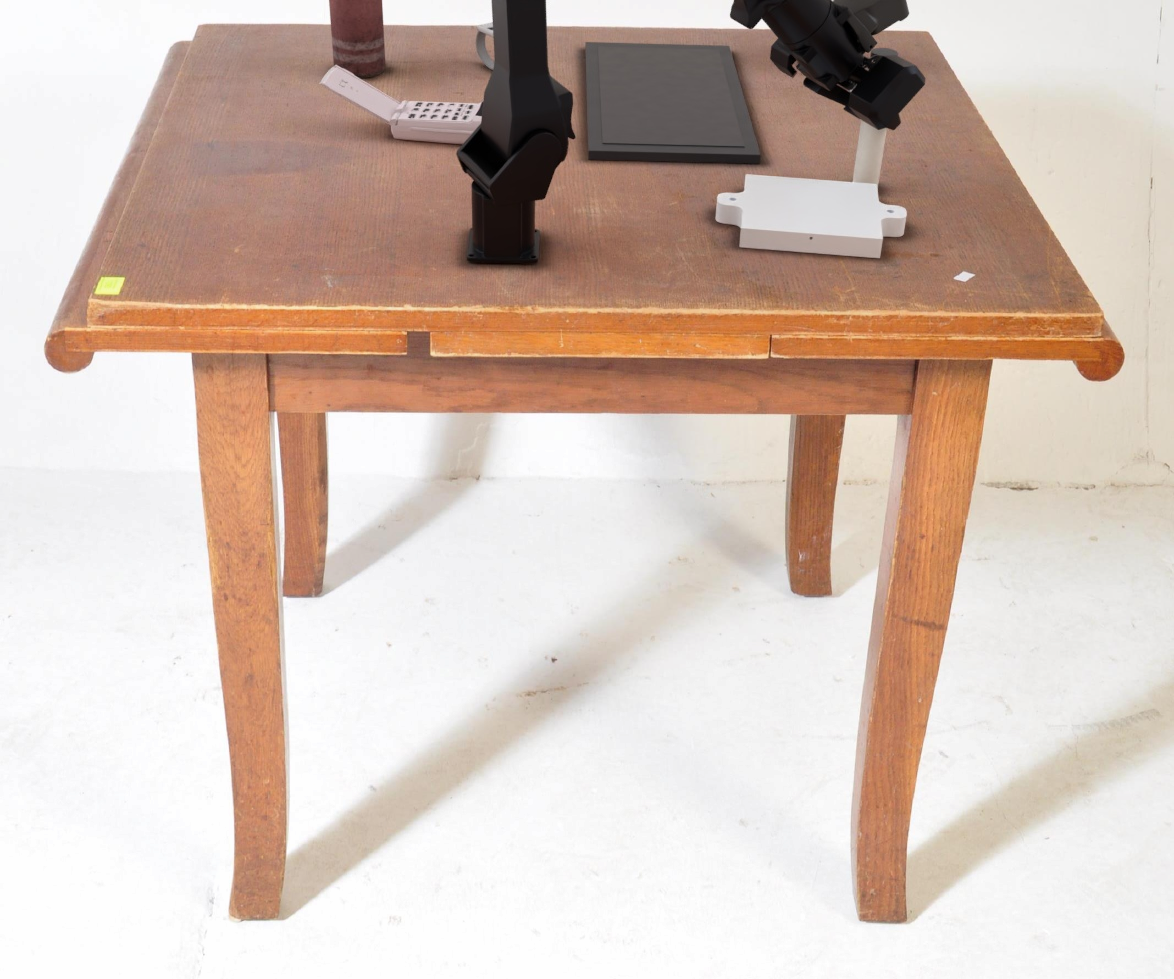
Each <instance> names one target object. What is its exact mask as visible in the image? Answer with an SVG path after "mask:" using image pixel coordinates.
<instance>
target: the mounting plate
mask: <svg viewBox="0 0 1174 979" xmlns="http://www.w3.org/2000/svg"><path fill="white" fill-rule="evenodd" d="M878 191H879V190H878V189H877V184H871V183H858V182H852V181H844V180H830V179H816V178H804V177H792V176H791V177H790V176H776V175H763V174H761V175H760V174H750V173H748V174H747V173H745V177H744V188H743V191H740V192H721V193H718V194H717V197H716V205H715V206H716V208H715V221H716V222H717V223H720V224H723V225H734V226H736V227H739V229H740V233H739V246H738V247H739V248H746V249H757V250H769V251H781V252H782V251H783V252H796V253H808V254H820V255H831V256H832V255H833V256H834V255H835V256H844V257H845V256H846V257H859V258H870V259H871V258H872V259H881V253H882V249H883V248H882V247H883V242H884V237H889V238H890V237H891V238H900V237H902V236H904V234H905V228H906V223H907V216H908V214H907V213H908V212H907V209H906V208H905V207H903V206H901V205H897V204H886V203H883V202H881V201H880V199H879V192H878Z"/></svg>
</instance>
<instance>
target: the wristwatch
mask: <svg viewBox="0 0 1174 979" xmlns="http://www.w3.org/2000/svg"><path fill="white" fill-rule="evenodd" d="M476 30H477V33H476V36H475V49H476V53H477V56H478V57H479V59H480V60H481V62H482V63H483V65H484V66H486V67H487V68H488V69H489V70H491V71H493V68H494V62H495V61H494V60H493V59H492V58H491V56H490V54H489V52H488V50H487V47H486V36H489V37H491V38H493V21H491V22H488V23H487V22H486V23H482V24H478V25H477V26H476Z"/></svg>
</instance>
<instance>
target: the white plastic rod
mask: <svg viewBox="0 0 1174 979" xmlns="http://www.w3.org/2000/svg"><path fill="white" fill-rule="evenodd" d="M894 54H895V55H897V56H899V52H898V51H897V50H895V49H892V48H889V47H874V48H873V49H872V50H871V51H870V57H869V58H871V57H872V56H874V55H879V56H881V57H883V56H886V55H894ZM867 70H869V69H868V68H867ZM887 131H888V128H884V129H881V130H877V129H876V128H874V127H872V126H871V125H869V124H867V123H866V122H864V121H863V120H861V119H860V125H859V131H858V132H859V133H858V139H857V141H858V142H857V146H856V154H855V159H854V160H855V161H854V168H853V175H852V181H851V182H858V183H871V184H877V189H878V188H879V184H880V183H879V181H880V176H881V168H882V163H883V156H884V150H885V144H886V135H887Z"/></svg>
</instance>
